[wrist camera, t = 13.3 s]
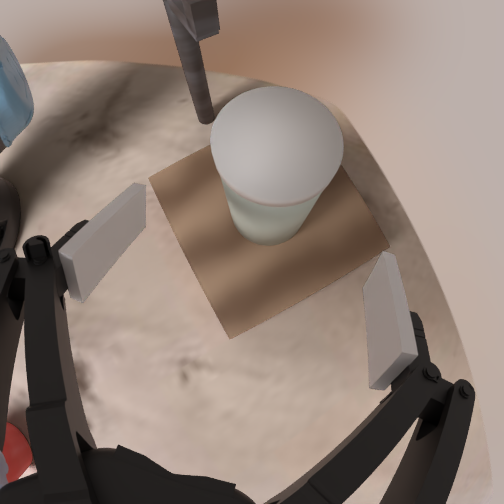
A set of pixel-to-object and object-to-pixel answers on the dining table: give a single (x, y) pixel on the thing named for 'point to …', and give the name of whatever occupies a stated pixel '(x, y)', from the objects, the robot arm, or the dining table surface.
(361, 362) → the dining table surface
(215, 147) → the domed lid bottle
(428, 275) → the dining table surface
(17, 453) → the flower pot
